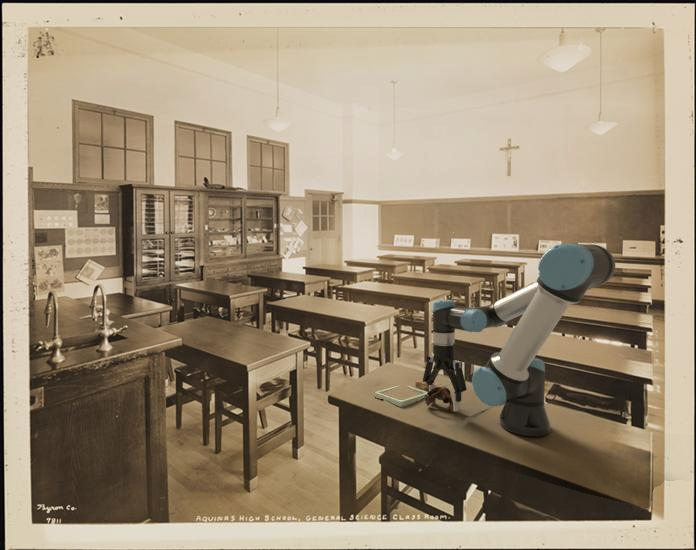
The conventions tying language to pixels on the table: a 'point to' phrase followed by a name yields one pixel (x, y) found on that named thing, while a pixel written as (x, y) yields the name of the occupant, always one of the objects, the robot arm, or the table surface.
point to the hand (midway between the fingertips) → (443, 406)
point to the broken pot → (439, 396)
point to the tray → (401, 402)
